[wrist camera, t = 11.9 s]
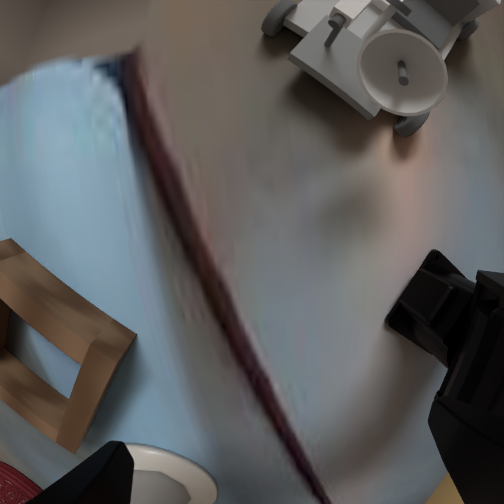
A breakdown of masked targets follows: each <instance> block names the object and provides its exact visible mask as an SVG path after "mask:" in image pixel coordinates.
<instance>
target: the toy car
mask: <svg viewBox="0 0 504 504" xmlns="http://www.w3.org/2000/svg"><path fill="white" fill-rule="evenodd" d="M500 2H501V0H303V1H302V2H301V3H299V4H298V5H297V4H296V3H295V2H293V1H291V0H281V1H279V2H278V3H277V4H276V5H275V6H274V7H273V8H272V9H271V10H270V11H269V13H268V14H267V16H266V17H265V19H264V21H263V24H262V27H261V30H262V32H264V33H265V34H267V35H269V36H271V37H275V36H276V35H277V34H278V33H279V32H280V30H281V29H282V28H283V27H284V26H286V27H287V28H289V29H290V30H292V31H294V32H295V33H297V34H299V35H300V36H302V37H303V39H302V40H301V42H300V43H299V44H298V45H297V46H296V47H295V48H294V49H293V50H292V51H291V52H290V54H289V57H288V60H289V61H291V62H292V63H294V64H295V65H297V66H298V67H300V68H301V69H302V70H304V71H305V72H307V73H308V74H310V75H311V76H312V77H314V78H315V79H317V80H318V81H319V82H321V83H322V84H323V85H325V86H326V87H328V88H329V89H330V90H331V91H333V92H334V93H335V94H337V95H338V96H339V97H341V98H342V99H343V100H344V101H346V102H347V103H348V104H349V105H351V106H352V107H353V108H354V109H355V110H357V111H358V112H359V113H360V114H361V115H363V116H364V117H365V118H366V119H367V120H370V119H372V118H374V117H375V116H376V114H377V113H378V112H379V110H380V109H381V108H382V109H383V110H386V111H388V112H390V113H393V114H396V115H401V118H400V119H399V120H398V121H397V122H396V123H395V125H394V130H395V131H396V132H397V133H398V134H399V135H400V136H401V137H408V136H410V135H412V134H413V133H414V132H416V131H417V130H418V129H419V128H420V127H421V126H422V125H423V124H424V122H425V121H426V119H427V118H428V116H429V113H430V110H432V109H433V108H435V107H436V106H437V105H438V104H439V103H440V101H441V100H442V99H443V97H444V95H445V92H446V90H447V84H448V74H447V69H446V65H445V62H444V60H445V58H446V56H447V55H448V53H449V51H450V50H451V48H452V46H453V44H454V43H455V41H456V39H458V40H460V41H462V40H464V39H466V38H468V37H469V36H470V35H471V34H472V33H473V32H474V31H475V30H476V29H477V28H478V26H479V22H478V21H477V20H476V18H477V17H479V16H481V15H482V14H484V13H486V12H487V11H489V10H491V9H492V8H494V7H496V6H497V5H499V4H500Z"/></svg>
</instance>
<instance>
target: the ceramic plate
mask: <svg viewBox="0 0 504 504" xmlns="http://www.w3.org/2000/svg"><path fill="white" fill-rule="evenodd" d="M125 445H126V446H127V448H128V450H129V452H130V454H131V455H132V457H133V459H134V470H140V471H153V472H161V473H162V474H164V475H166V476H168V477H170V478H171V479H173V480H175V481H177V482H179V483H181V484H183V485H184V487H185V488H186V490H187V492H188V493H189V495H190V497H191V500H190V501H189V503H188V504H213V503H214V502H215V500H216V498H217V485H216V482H215V480H214V479H213V477H212V476H211V475H210V474H209V473H208V472H207V471H206V470H205V469H204V468H202V467H201V466H199V465H198V464H196V463H195V462H193V461H191V460H189V459H188V458H185V457H183V456H181V455H179V454H176V453H174V452H171V451H168V450H165V449H162V448H158V447H155V446H150V445H145V444H138V443H125Z"/></svg>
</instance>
